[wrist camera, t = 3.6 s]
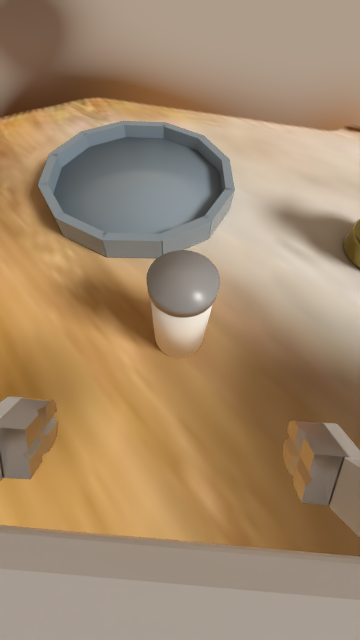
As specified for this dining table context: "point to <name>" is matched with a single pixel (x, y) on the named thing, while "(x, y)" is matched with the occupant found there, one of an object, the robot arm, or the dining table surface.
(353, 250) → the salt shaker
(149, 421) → the dining table surface
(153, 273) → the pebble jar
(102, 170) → the dish
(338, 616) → the robot arm
